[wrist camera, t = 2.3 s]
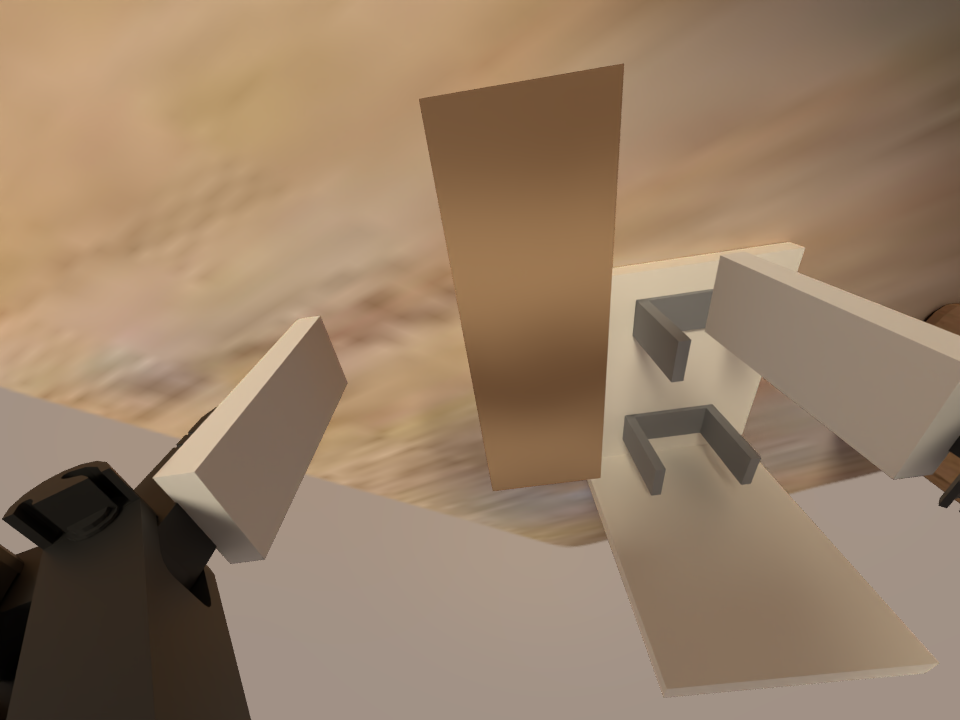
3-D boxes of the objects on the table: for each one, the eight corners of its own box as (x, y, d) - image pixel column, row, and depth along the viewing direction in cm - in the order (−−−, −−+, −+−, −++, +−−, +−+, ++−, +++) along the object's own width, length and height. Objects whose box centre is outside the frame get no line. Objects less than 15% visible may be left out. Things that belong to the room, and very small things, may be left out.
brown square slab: (445, 118, 17) (418, 98, 7) (529, 104, 17) (624, 64, 7) (480, 337, 24) (492, 491, 13) (541, 328, 23) (600, 477, 13)
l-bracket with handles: (581, 272, 21) (749, 475, 9) (788, 241, 21) (1287, 410, 8) (579, 458, 30) (663, 698, 17) (727, 440, 29) (925, 673, 17)
